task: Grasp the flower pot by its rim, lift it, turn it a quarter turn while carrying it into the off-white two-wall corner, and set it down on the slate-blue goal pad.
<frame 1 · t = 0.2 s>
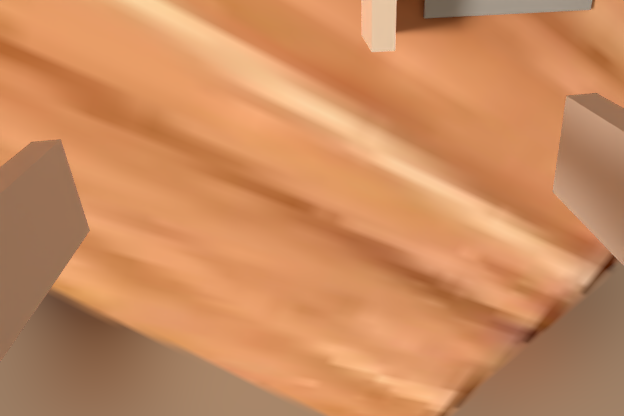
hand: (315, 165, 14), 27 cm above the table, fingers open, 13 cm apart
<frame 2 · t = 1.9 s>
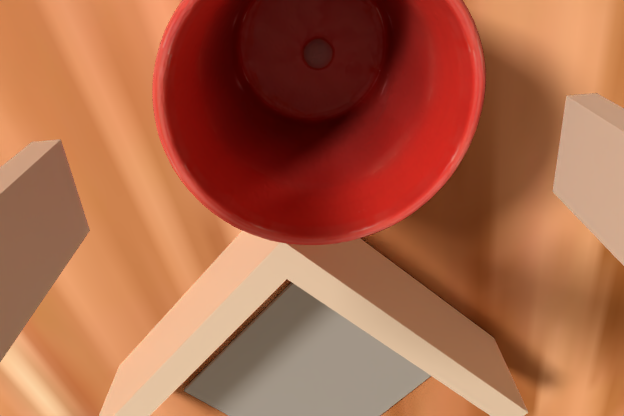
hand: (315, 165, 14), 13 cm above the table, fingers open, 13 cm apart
corner wall: (289, 216, 30), on the table
flower pot: (313, 47, 26), on the table
goal pad: (308, 378, 36), on the table
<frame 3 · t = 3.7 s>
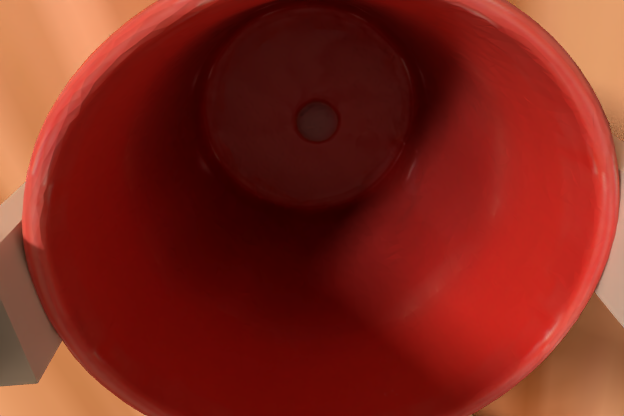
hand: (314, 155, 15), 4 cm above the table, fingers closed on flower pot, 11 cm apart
flower pot: (311, 109, 19), on the table, touching gripper
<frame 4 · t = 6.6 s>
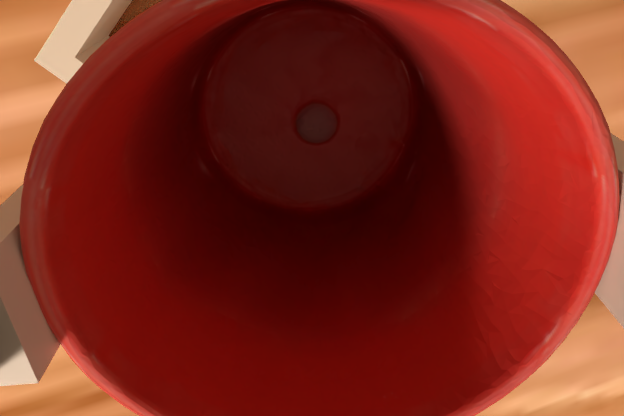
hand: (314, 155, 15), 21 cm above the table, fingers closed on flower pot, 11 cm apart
corner wall: (108, 35, 33), on the table
flower pot: (310, 110, 19), point 17 cm above the table, touching gripper
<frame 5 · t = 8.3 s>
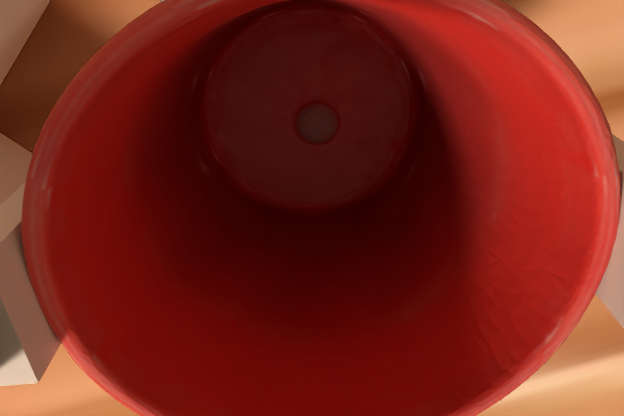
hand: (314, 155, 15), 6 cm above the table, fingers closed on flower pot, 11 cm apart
flower pot: (310, 111, 19), point 2 cm above the table, touching gripper
when the fingers open (4 cm above the table, at t = 9.6 s): flower pot stays where it is, resting on goal pad.
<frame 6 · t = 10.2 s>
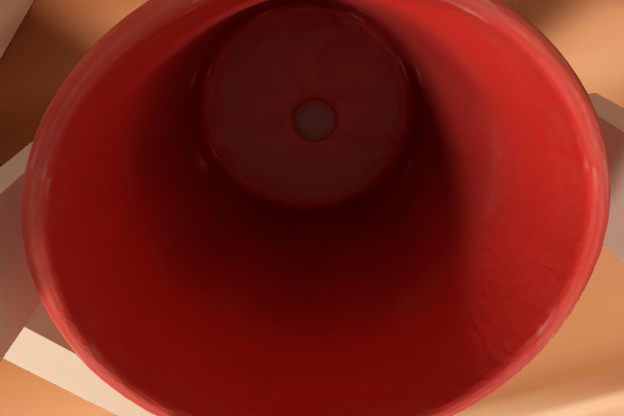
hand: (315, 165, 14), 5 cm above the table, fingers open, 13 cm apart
flower pot: (309, 108, 19), resting on goal pad
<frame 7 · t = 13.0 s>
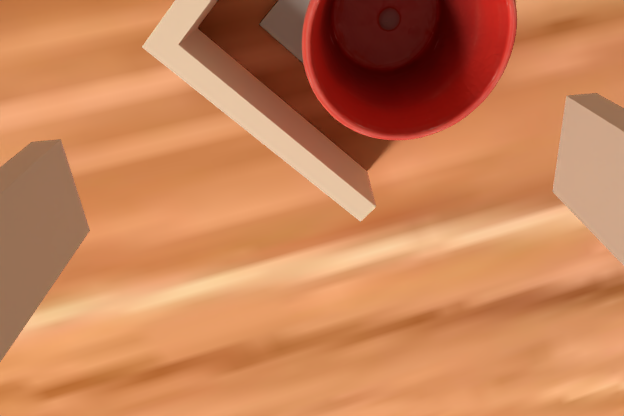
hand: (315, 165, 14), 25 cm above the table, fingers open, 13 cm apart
corner wall: (197, 28, 36), on the table
flower pot: (384, 15, 36), resting on goal pad
goal pad: (385, 15, 36), on the table
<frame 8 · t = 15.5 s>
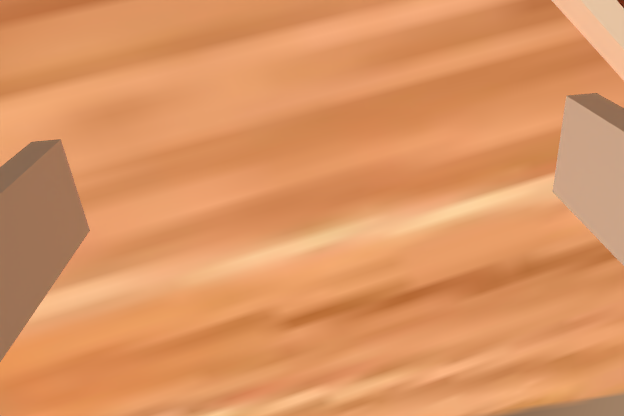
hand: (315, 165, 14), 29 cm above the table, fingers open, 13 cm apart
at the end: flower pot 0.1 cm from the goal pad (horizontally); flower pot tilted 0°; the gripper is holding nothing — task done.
